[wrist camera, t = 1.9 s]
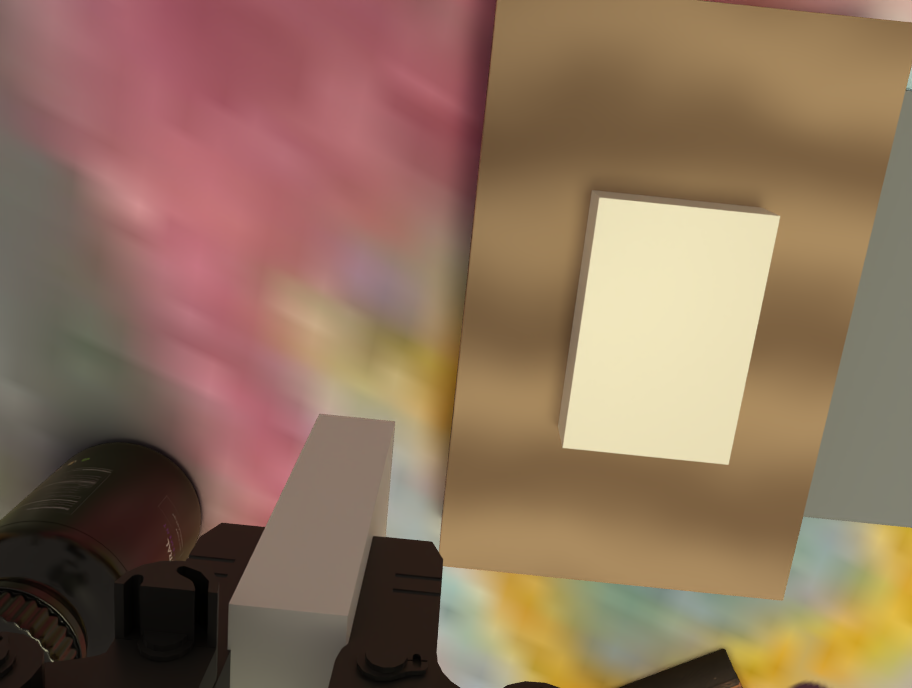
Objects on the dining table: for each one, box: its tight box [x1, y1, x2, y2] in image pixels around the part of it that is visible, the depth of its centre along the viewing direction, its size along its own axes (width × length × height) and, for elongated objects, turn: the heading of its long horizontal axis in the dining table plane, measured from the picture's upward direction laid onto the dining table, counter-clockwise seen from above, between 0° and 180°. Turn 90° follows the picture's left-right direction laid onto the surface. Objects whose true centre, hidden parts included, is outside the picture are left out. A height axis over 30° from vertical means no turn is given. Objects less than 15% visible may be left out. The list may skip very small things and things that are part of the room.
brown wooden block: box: [439, 0, 912, 600], centre depth 34 cm, size 22×14×4 cm, turn 174°
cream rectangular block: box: [558, 190, 780, 465], centre depth 31 cm, size 9×6×2 cm, turn 174°
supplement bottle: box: [0, 442, 201, 663], centre depth 34 cm, size 7×7×12 cm
